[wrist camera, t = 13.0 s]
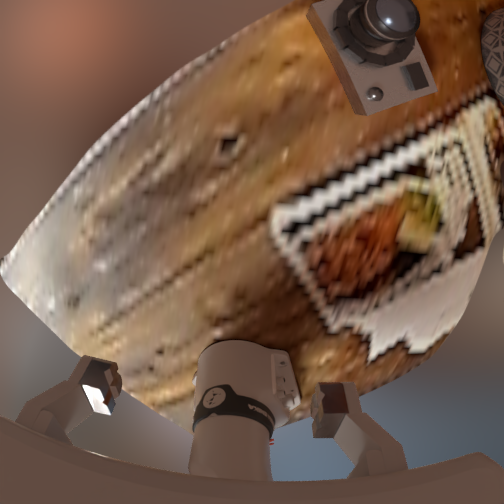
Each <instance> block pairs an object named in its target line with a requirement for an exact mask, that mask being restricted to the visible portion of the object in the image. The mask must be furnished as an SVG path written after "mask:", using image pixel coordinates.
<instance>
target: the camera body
mask: <svg viewBox="0 0 504 504" xmlns="http://www.w3.org/2000/svg"><path fill="white" fill-rule="evenodd" d="M366 1H367V0H324V1H320V2H317V3H314V4H311V6H310V9H309V11H308V13H307V15H306V17H307V19H308V20H309V22H310V24H311V26H312V27H313V29H314V31H315V33H316V35H317V36H318V38H319V40H320V42H321V44H322V46H323V48H324V50H325V52H326V53H327V55H328V57H329V59H330V61H331V63H332V65H333V67H334V69H335V71H336V74H337V76H338V78H339V80H340V82H341V84H342V86H343V88H344V91H345V93H346V95H347V97H348V99H349V102H350V104H351V106H352V109H353V111H354V113H355V114H356V115H364V116H368V115H371V114H374V113H376V112H379V111H382V110H384V109H387V108H390V107H393V106H396V105H398V104H401V103H404V102H407V101H410V100H413V99H416V98H419V97H422V96H425V95H428V94H431V93H434V92H437V91H438V90H437V87H436V85H435V82H434V79H433V77H432V74H431V71H430V69H429V67H428V64H427V62H426V59H425V57H424V55H423V52H422V50H421V48H420V46H419V43H418V41H417V39H416V37H415V33H414V34H413V35H411V36H408V37H407V38H404V39H401V40H397V41H394V42H391V43H388V44H386V45H383V46H379V47H373V46H369V45H366V44H364V43H362V42H361V41H359V40H358V39H357V38H356V37H355V35H354V34H353V32H352V30H351V27H350V18H351V15H352V14H353V12H354V11H355V10H357V9H358V8H359V7H360V6H361V5H362V4H364V3H365V2H366Z"/></svg>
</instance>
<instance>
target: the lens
mask: <svg viewBox="0 0 504 504" xmlns="http://www.w3.org/2000/svg"><path fill="white" fill-rule="evenodd" d="M419 25H420V16H419V12H418V10H417V8H416V6H415V5H414V3H413V2H412V1H411V0H367V1H366V2H365V3H364V4H362V5H361V6H360V7H359V8H358V9H357V10H355V11H354V12H353V14H352V15H351V18H350V27H351V30H352V32H353V34H354V35H355V37H356V38H357V39H358V40H359V41H361V42H362V43H364V44H366V45H369V46H373V47H379V46H383V45H386V44H388V43H391V42H394V41H397V40H401V39H404V38H407V37H408V36H411V35H413V34H414V33H415V32H416V31H417V30H418V28H419Z"/></svg>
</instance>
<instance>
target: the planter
mask: <svg viewBox="0 0 504 504" xmlns="http://www.w3.org/2000/svg"><path fill="white" fill-rule="evenodd" d="M481 50H482V57H483V62H484V66H485V69H486V72H487V75H488V78H489V81H490V83H491V85H492V87H493V89H494V91H495V93H496V95H497V96H498V98H499V100H500V101H501V102H502V104H503V105H504V8H501V9H497V10H495V11H493V12H492V13H491V14H490V15H489V16H488V17H487V18H486V20H485V22H484V25H483V28H482V34H481Z"/></svg>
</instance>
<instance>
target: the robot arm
mask: <svg viewBox="0 0 504 504" xmlns="http://www.w3.org/2000/svg"><path fill="white" fill-rule="evenodd" d="M117 370H118V366H117V363H115V362H112V361H107V360H103V359H99V358H95V357H90V356H86V355H84V356H82V357H81V359H80V361H79V362H78V364H77V366H76V367H75V369H74V371H73V373H72V374H71V376H70V378H69V380H68V381H66V380H65V381H63V382H61V383H59V384H58V385H56V386H54V387H52V388H50V389H49V390H47V391H45V392H43V393H42V394H40V395H38V396H36V397H35V398H33V399H31V400H29V401H27V402H26V404H25V406H24V407H23V409H22V411H21V412H20V414H19V416H18V418H17V419H16V421H15V422H14V421H12V420H10V419H8V418H6V417H4V416H2V415H0V504H504V469H503V468H502V466H500V465H499V464H497V463H496V462H495V461H494V460H492V459H490V458H489V457H488V456H486V455H484V454H483V453H481V452H475V453H471V454H467V455H464V456H461V457H458V458H454V459H451V460H447V461H444V462H439V463H436V464H431V465H427V466H423V467H418V468H414V469H408V466H407V462H406V458H405V455H404V451H403V448H402V445H401V444H400V443H399V442H398V441H396V440H395V439H394V438H393V437H392V436H391V435H390V434H389V433H387V432H386V431H385V430H384V429H383V428H382V427H381V426H380V425H378V423H376V422H375V421H374V420H373V419H372V418H371V417H370V416H369V415H368V414H367V413H362V410H361V405H360V401H359V397H358V393H357V389H356V386H355V383H354V382H318V383H317V384H316V387H315V392H316V393H315V394H314V395H313V396H312V400H311V417H312V418H313V419H314V421H313V424H312V430H313V438H333V439H334V440H335V442H336V443H337V444H338V445H339V446H340V448H341V449H342V450H343V451H344V453H345V454H346V455H347V456H348V458H349V459H350V460H351V461H352V463H353V464H354V465H355V466H356V467H355V468H354V469H353V471H352V472H351V473H350V474H349V476H348V477H347V479H335V480H322V481H321V480H320V481H273V478H272V474H271V464H270V447H269V445H273V444H274V443H269V442H271V441H273V440H274V439H271V437H272V434H273V431H274V429H275V428H278V427H280V426H282V425H284V424H285V423H286V422H287V421H288V420H289V416H290V412H289V411H290V410H292V409H293V408H295V407H297V406H298V405H299V404H300V403H301V397H300V394H299V390H298V386H297V383H296V379H295V376H294V372H293V369H292V365H291V361H290V358H289V354H288V353H287V352H286V351H283V350H276V349H268V348H265V347H263V346H261V345H259V344H256V343H253V342H249V341H242V340H229V341H222V342H219V343H216V344H213V345H211V346H210V347H208V348H207V349H205V350H204V351H203V352H202V354H201V355H200V357H199V360H198V370H197V372H196V373H195V375H194V376H193V381H192V382H193V384H194V385H195V396H194V411H195V414H194V416H193V432H194V436H193V442H192V447H191V453H190V459H189V464H188V469H189V473H190V474H184V473H178V472H172V471H167V470H161V469H156V468H152V467H147V466H142V465H138V464H134V463H130V462H125V461H122V460H118V459H114V458H111V457H107V456H103V455H100V454H97V453H94V452H90V451H87V450H84V449H81V448H78V447H75V446H73V444H72V442H71V441H70V439H69V438H68V436H67V435H66V434H67V433H68V432H70V431H71V430H72V429H74V428H75V427H76V426H77V425H78V424H80V423H81V422H82V421H84V420H85V419H86V418H87V417H88V416H90V415H91V414H92V413H94V412H93V411H95V412H99V413H103V414H107V415H111V414H112V412H113V410H114V407H115V405H116V403H115V400H114V399H115V398H117V397H118V396H119V395H120V392H121V388H122V379H121V375H120V374H119V373H118V372H117Z"/></svg>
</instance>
